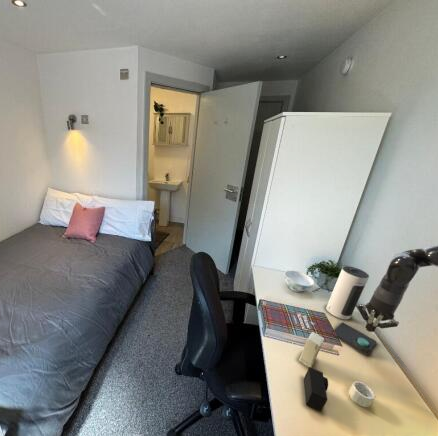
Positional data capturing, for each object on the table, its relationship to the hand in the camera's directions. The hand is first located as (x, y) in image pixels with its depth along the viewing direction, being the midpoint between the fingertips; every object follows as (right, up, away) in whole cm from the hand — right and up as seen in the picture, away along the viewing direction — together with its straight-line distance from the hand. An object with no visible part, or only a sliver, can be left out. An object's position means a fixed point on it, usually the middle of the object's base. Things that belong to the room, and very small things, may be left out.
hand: (368, 330), depth 98 cm
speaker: (+7, -2, +24) cm, 25 cm away
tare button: (0, -7, +3) cm, 8 cm away
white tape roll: (-20, -17, -16) cm, 30 cm away
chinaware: (-4, +5, +42) cm, 42 cm away
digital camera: (-35, -16, -16) cm, 42 cm away
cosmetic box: (-29, -11, -3) cm, 31 cm away
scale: (+1, -8, +8) cm, 11 cm away
